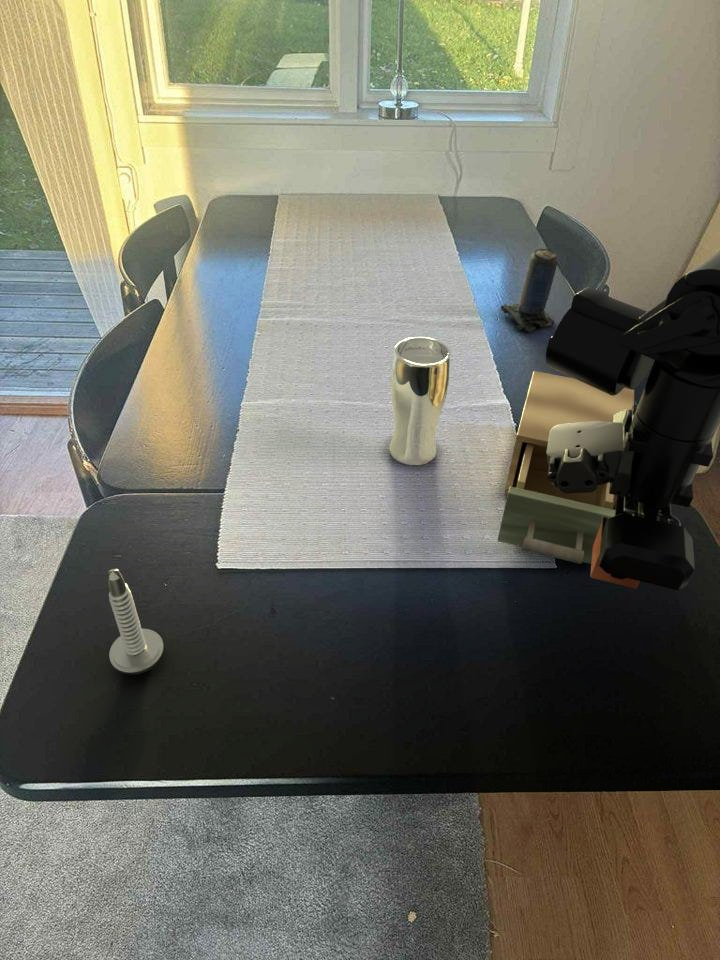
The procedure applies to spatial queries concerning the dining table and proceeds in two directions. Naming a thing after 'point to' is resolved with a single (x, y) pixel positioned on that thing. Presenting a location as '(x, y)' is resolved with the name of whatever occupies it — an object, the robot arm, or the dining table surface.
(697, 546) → the dining table surface
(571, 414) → the cabinet
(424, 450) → the beer glass
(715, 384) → the robot arm
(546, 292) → the grey post with base
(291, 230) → the dining table surface
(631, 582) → the block
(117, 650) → the screw
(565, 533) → the drawer
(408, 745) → the dining table surface
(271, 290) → the dining table surface
